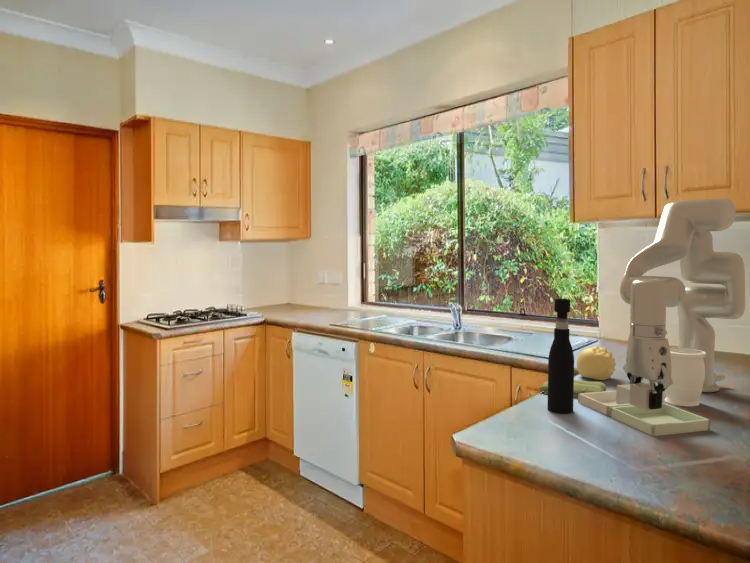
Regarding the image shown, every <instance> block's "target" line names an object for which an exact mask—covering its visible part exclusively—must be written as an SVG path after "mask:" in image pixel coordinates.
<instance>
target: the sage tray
mask: <svg viewBox="0 0 750 563" xmlns="http://www.w3.org/2000/svg"><path fill="white" fill-rule="evenodd" d="M609 417H610V418H612V419H614V420H616V421H618V422H621V423H623V424H626V425H627V426H629V427H632V428H634V429H636V430H638V431H640V432H642V433H644V434H647V435H649V436H651V437H660V436H670V435H675V434H676V435H677V434H679V435H680V434H686V433H694V432H695V433H696V432H704V431H710V430H711V419H709V418H706V417H704V416H701V415H698V414H695V413H693V412H691V411H686V410H684V409H682V408H680V407H676V406H673V405H672V404H669V403H668V404H667V403H665V402H663V408H660V409H653V410H643V409H641V408H638V407H636V406H634V405H632V406H621V407H611V410H610V416H609Z"/></svg>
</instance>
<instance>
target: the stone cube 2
mask: <svg viewBox="0 0 750 563" xmlns="http://www.w3.org/2000/svg"><path fill="white" fill-rule="evenodd" d="M629 384H630V383H629ZM657 385H658V384H656V386H657ZM650 392H651V387H650V382H649V381H648V382H642V383H635V384H630V404H631V405H634V406H636V407H638V408H641V409H643V410H651V409H649V393H650ZM663 403H664V392H663V393H662V408H663Z"/></svg>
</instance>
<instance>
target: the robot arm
mask: <svg viewBox="0 0 750 563" xmlns="http://www.w3.org/2000/svg"><path fill="white" fill-rule="evenodd" d="M735 219H736V206H735V203H733V201H732V200H731V199H730V198H728V197H727V198H725V197H723V198H722V197H721V198H707V199H705V198H702V199H688V200H687V199H685V200H675V201H672V202H669V203H667V204H666V205H664V207H663V210H662V213H661V216H660V219H659V222H658V226H657V229H656V232H655V236H654V239H653V242H652V243H651V244H649V245H647V246H646V247H645V248H643V249H642V250H640V251H639V252H638V253H636V254H635V255H634V256H633V257H632V258H631V259H630V260H629V261H628V263H627V264H626V267H625V270H624V272H623V275H622V279H621V282H620V287H619V295H620V298H621V300H622V301H623V302H624V303H626V304H627V305H630V306H629V307H630V310H629V313H630V315H629V316H630V317H629V318H630V319H629V321H630V322H629V323H630V324H629V335H628V338H627V345H626V354H625V364H624V365H623V367H622V369H623V371H624V372H625V374H626V377H627V378H628V380H629V381H628V382H629V384H635V383H643V381H644V379H645V380H647V381H648V383H650V387H651V392H650V393H649V409H651V410H653V409H660V408H662V393H663V394H664V393H665V390H666V389H667V388H668V387H669V386H671V385H672V384H673V381H672V379H671V353H670V348H671V347H670V342H669V339H668V338H666V335H667V334H668V332H667V330H666V325H667V324H666V323H667V308H675V307H677V314H678V347H677V348H688V349H695V350H700V351H704V352H705V353H706V356H705V357H704V358H703V360H704V365H705V380H704V384H703V389H702V393H714V392H718V391H719V390H720V385H718V384H717V383H716V382H717V381H719V382H720V381H725V380H726V376H725V374H722V373H721V374H716V373H714V371H715V346H716V345H715V344H716V343H715V342H716V333H715V332H716V331H715V329H714V327H713V326H712V324H710V322H709V321H708V319H720V320H721V319H722V320H723V319H724V320H737V319H740V318H742V317H743V315H744V314H745V310H746V276H745V275H746V271H745V269H746V268H745V263H744V260H743V257H742V255H740V254H739V253H738V252H737V253H736V252H731V251H729V252H728V251H714V247H713V246H714V245H713V244H714V243H713V235H712V233H711V232H721V231H726V230H727V229H729V228H730V227H732V225H733V224H734V221H735ZM678 261H679V263H680V264H679V267H680V275H681V277H682V280H683V281H684V282H687V283H691V284H706V285H688V286H685V284H684V282H683V281H682V280H681V279H679V278H678V277H672V276H654V275H644V274H646V273H647V272H649V271H651V270H653V269H656V268H659V267H661V266H666V265H668V264H671V263H674V262H678ZM711 285H722V286H711ZM706 318H707V319H706ZM656 385H657V386H656Z"/></svg>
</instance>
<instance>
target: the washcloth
mask: <svg viewBox="0 0 750 563" xmlns="http://www.w3.org/2000/svg"><path fill="white" fill-rule="evenodd" d="M539 390H540V391H542V392H543V394H544V395H548V380H547V381H544V382H543V384H542V385H539ZM604 391H608V390H607V386H606V384H605V383H603V382H602V381H586V380H577V379H574V397H573V399H574V398H575V399H578V394H579V393H592V392H604Z"/></svg>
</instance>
